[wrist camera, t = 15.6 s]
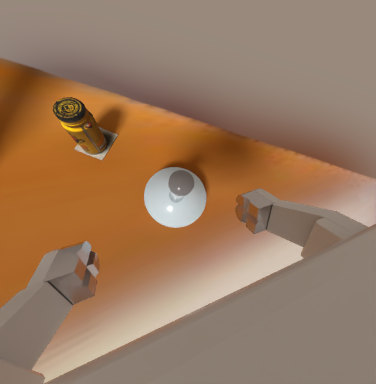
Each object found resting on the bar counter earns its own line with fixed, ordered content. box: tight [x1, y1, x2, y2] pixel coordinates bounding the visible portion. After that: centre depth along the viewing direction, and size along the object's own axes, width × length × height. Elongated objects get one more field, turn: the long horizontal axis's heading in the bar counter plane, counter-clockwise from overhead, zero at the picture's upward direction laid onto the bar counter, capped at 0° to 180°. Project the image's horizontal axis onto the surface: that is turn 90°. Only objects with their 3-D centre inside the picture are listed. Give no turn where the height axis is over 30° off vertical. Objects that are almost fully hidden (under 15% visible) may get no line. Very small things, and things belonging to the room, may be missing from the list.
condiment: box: [53, 97, 118, 160], centre depth 34 cm, size 7×8×12 cm
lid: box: [144, 167, 206, 228], centre depth 30 cm, size 14×14×10 cm
